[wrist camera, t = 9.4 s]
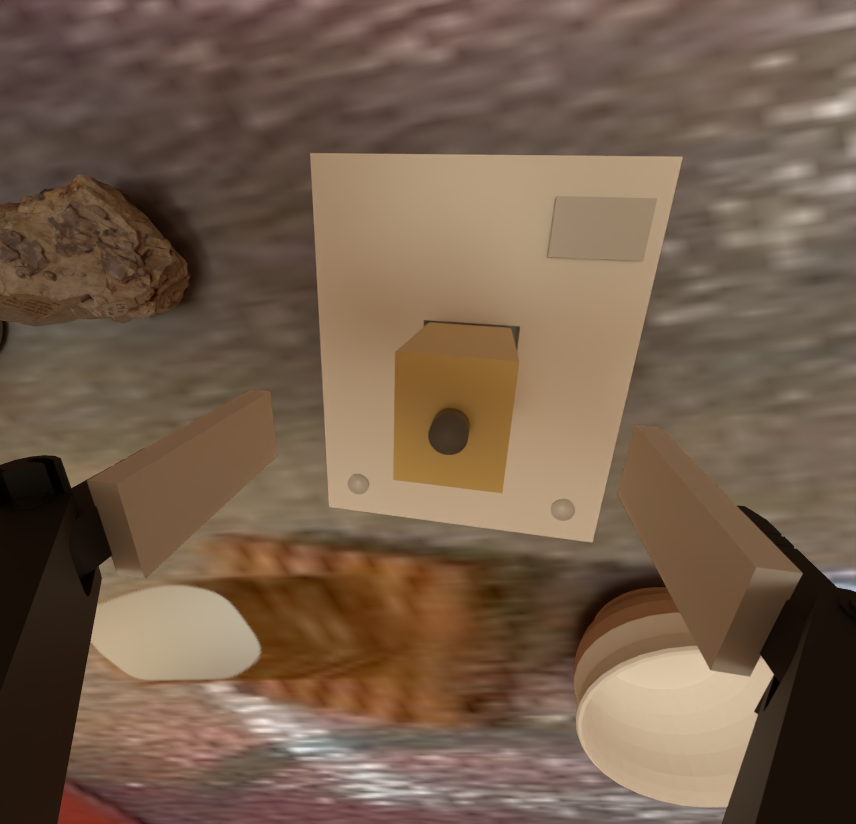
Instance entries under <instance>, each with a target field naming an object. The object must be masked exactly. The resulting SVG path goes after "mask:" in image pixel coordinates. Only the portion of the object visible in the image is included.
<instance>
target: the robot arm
mask: <svg viewBox="0 0 856 824" xmlns="http://www.w3.org/2000/svg"><path fill="white" fill-rule="evenodd" d="M277 456H278V455H277V447H276V438H275V429H274V420H273V412H272V403H271V394H270V391H263V390H253V389H251V390H249V391H247V392H246V393H244V394H242V395H240V396H238V397H237V398H235V399H233V400H231V401H229V402H228V403H226V404H224V405H222V406H220V407H219V408H217V409H215V410H213V411H211V412H210V413H208V414H206V415H204V416H202V417H200V418H199V419H197V420H195V421H193V422H191V423H190V424H188V425H186V426H184V427H182V428H181V429H179V430H177V431H175V432H173V433H172V434H170V435H168V436H166V437H164V438H163V439H161V440H159V441H157V442H155V443H154V444H152V445H150V446H148V447H146V448H144V449H142V450H140V451H138V452H136V453H135V454H133V455H131V456H129V457H128V458H126V459H124V460H122V461H120V462H118V463H116V464H115V465H114V466H111V467H109V468H107V469H106V470H104V471H102V472H100V473H98V474H97V475H95V476H93V477H91V478H89V479H87V480H86V481H84V482H82V483H80V484H78V485H77V486H75V487H73V488H71V486H70V483H69V480H68V478H67V475H66V472H65V469H64V466H63V463H62V460H61V458H59V457H56V456H47V455H43V456H33V457H27V458H22V459H18V460H14V461H11V462H8V463H5V464H2V465H0V824H57V822H58V817H59V811H60V806H61V800H62V795H63V789H64V784H65V778H66V773H67V767H68V762H69V756H70V751H71V745H72V740H73V734H74V729H75V723H76V718H77V712H78V707H79V701H80V696H81V690H82V685H83V679H84V674H85V668H86V663H87V657H88V652H89V646H90V641H91V634H92V629H93V624H94V619H95V613H96V608H97V602H98V597H99V591H100V586H101V580H102V577H101V573H100V570H99V567H98V566H99V565H100V564H101V563H103V562H104V561H105V560H107V559H108V558H109V557H110V556H111V557H112V560H113V563H114V566H115V569H116V572H117V575H122V576H128V577H134V578H140V579H146V578H147V577H148V576H149V575H150V574H151V573H152V572H153V571H154V570H155V569H156V568H157V567H158V566H159V565H161V564H162V563H163V562H164V561H165V560H166V559H167V558H168V557H169V556H170V555H171V554H172V553H173V552H175V551H176V550H177V549H178V548H179V547H180V546H181V545H182V544H183V543H184V542H185V541H186V540H187V539H189V538H190V537H191V536H192V535H193V534H194V533H195V532H196V531H197V530H198V529H199V528H200V527H201V526H202V525H204V524H205V523H206V522H207V521H208V520H209V519H210V518H211V517H212V516H213V515H214V514H215V513H216V512H218V511H219V510H220V509H221V508H222V507H223V506H224V505H225V504H226V503H227V502H228V501H229V500H230V499H231V498H233V497H234V496H235V495H236V494H237V493H238V492H239V491H240V490H241V489H242V488H243V487H244V486H245V485H247V484H248V483H249V482H250V481H251V480H252V479H253V478H254V477H255V476H256V475H257V474H258V473H259V472H260V471H262V470H263V469H264V468H265V467H266V466H267V465H268V464H269V463H270V462H271V461H272V460H273V459H274V458H276V457H277ZM617 495H618V496H619V498H620V500H621V502H622V504H623V506H624V508H625V510H626V512H627V513H628V515H629V517H630V519H631V521H632V523H633V525H634V527H635V529H636V531H637V532H638V534H639V536H640V538H641V540H642V542H643V544H644V546H645V548H646V550H647V551H648V553H649V555H650V557H651V559H652V561H653V563H654V565H655V567H656V568H657V570H658V572H659V574H660V576H661V578H662V580H663V582H664V584H665V586H666V587H667V589H668V591H669V593H670V595H671V597H672V599H673V601H674V603H675V605H676V606H677V608H678V610H679V612H680V614H681V616H682V618H683V620H684V622H685V623H686V625H687V627H688V629H689V631H690V633H691V635H692V637H693V639H694V641H695V642H696V644H697V646H698V648H699V650H700V652H701V654H702V656H703V658H704V660H705V661H706V663H707V665H708V667H709V669H710V670H711V671H717V672H724V673H730V674H736V675H742V676H748V677H750V676H751V674H752V672H753V670H754V668H755V666H756V664H757V662H758V660H759V658H760V656H762V658H763V659H764V661H765V662H766V664H767V665H768V667H769V668H770V670H771V671H772V672H773V674H774V675H773V677H772V679H771V681H770V683H769V685H768V686H767V688H766V690H765V692H764V694H763V696H762V698H761V699H760V701H759V703H758V705H757V707H756V709H755V710H754V712H755V713H757V714H758V716H757V719H756V722H755V725H754V728H753V731H752V734H751V737H750V740H749V743H748V746H747V749H746V752H745V755H744V758H743V761H742V764H741V767H740V770H739V773H738V776H737V779H736V782H735V785H734V788H733V791H732V794H731V797H730V800H729V803H728V806H727V809H726V812H725V815H724V818H723V821H722V824H856V592H854V591H852V590H847V589H842V588H837V587H836V586H835V585H834V584H833V583H832V582H831V581H830V580H829V579H828V578H827V577H826V576H825V575H824V574H823V573H822V572H820V571H819V570H818V569H817V568H816V567H815V566H814V565H813V564H812V563H811V562H810V561H809V560H808V559H807V558H806V557H805V556H804V555H803V554H802V553H801V552H800V551H799V550H798V549H794V546H793V545H792V544H791V543H790V542H789V541H788V540H787V539H786V538H785V537H782V536H781V533H780V532H779V531H778V530H777V529H776V528H775V527H774V526H773V525H771V524H770V523H769V522H768V521H767V520H766V519H765V518H763V517H761V516H760V515H758V514H756V513H755V512H753V511H752V510H750V509H748V508H747V507H745V506H736V505H735V504H734V503H733V502H732V501H731V500H730V499H729V497H728V496H727V495H726V494H725V493H724V492H723V491H722V490H721V489H720V488H719V487H718V486H717V485H716V484H715V483H714V482H713V481H712V480H711V479H710V478H709V477H708V476H707V475H706V474H705V473H704V472H703V471H702V470H701V469H700V468H699V467H698V466H697V465H696V464H695V463H694V462H693V461H692V460H691V459H690V458H689V457H688V456H687V455H686V454H685V453H684V452H683V451H682V450H681V449H680V448H679V447H678V445H677V444H676V443H675V442H674V441H673V440H672V439H671V438H670V437H669V436H668V435H667V434H666V433H665V432H664V431H663V430H662V429H661V428H660V427H656V426H645V425H635V427H634V431H633V435H632V439H631V443H630V447H629V450H628V454H627V458H626V462H625V466H624V470H623V474H622V478H621V481H620V485H619V489H618V493H617Z"/></svg>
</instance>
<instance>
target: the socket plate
mask: <svg viewBox="0 0 856 824" xmlns="http://www.w3.org/2000/svg"><path fill="white" fill-rule="evenodd" d="M682 158H683V157H663V156H558V155H453V154H348V153H310V159H311V178H312V196H313V215H314V234H315V252H316V271H317V290H318V308H319V327H320V345H321V364H322V383H323V401H324V420H325V439H326V457H327V476H328V494H329V507H334V508H341V509H349V510H356V511H363V512H371V513H378V514H386V515H393V516H400V517H408V518H415V519H423V520H430V521H437V522H445V523H452V524H460V525H467V526H474V527H482V528H489V529H497V530H504V531H511V532H519V533H526V534H534V535H541V536H548V537H556V538H563V539H571V540H578V541H585V542H593V538H594V533H595V529H596V525H597V521H598V516H599V512H600V508H601V504H602V499H603V495H604V491H605V487H606V482H607V478H608V474H609V470H610V465H611V461H612V457H613V452H614V448H615V444H616V440H617V435H618V431H619V427H620V423H621V418H622V414H623V410H624V406H625V401H626V397H627V393H628V389H629V384H630V380H631V376H632V371H633V367H634V363H635V359H636V354H637V350H638V346H639V342H640V337H641V333H642V329H643V325H644V320H645V316H646V312H647V307H648V303H649V299H650V295H651V290H652V286H653V282H654V278H655V273H656V269H657V265H658V261H659V256H660V252H661V248H662V244H663V239H664V235H665V231H666V226H667V222H668V218H669V214H670V209H671V205H672V201H673V197H674V192H675V188H676V184H677V180H678V175H679V171H680V167H681V163H682ZM429 322H431V323H446V324H461V325H476V326H491V327H505V328H511V330H512V334H513V338H514V342H515V346H516V350H517V354H518V358H519V368H518V376H517V384H516V392H515V399H514V407H513V415H512V423H511V430H510V438H509V446H508V454H507V461H506V469H505V477H504V485H503V492H502V493H496V492H487V491H479V490H471V489H463V488H455V487H447V486H439V485H431V484H423V483H414V482H406V481H398V480H393V457H394V388H395V351H397V350H398V349H399V348H400V347H401V346H402V345H404V344H405V343H406V342H407V341H408V340H409V339H411V338H412V337H413V336H414V335H415V334H416V333H418V332H419V331H420V330H421V329H422V328H423V327H425V326H426V325H427V324H428V323H429Z"/></svg>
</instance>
